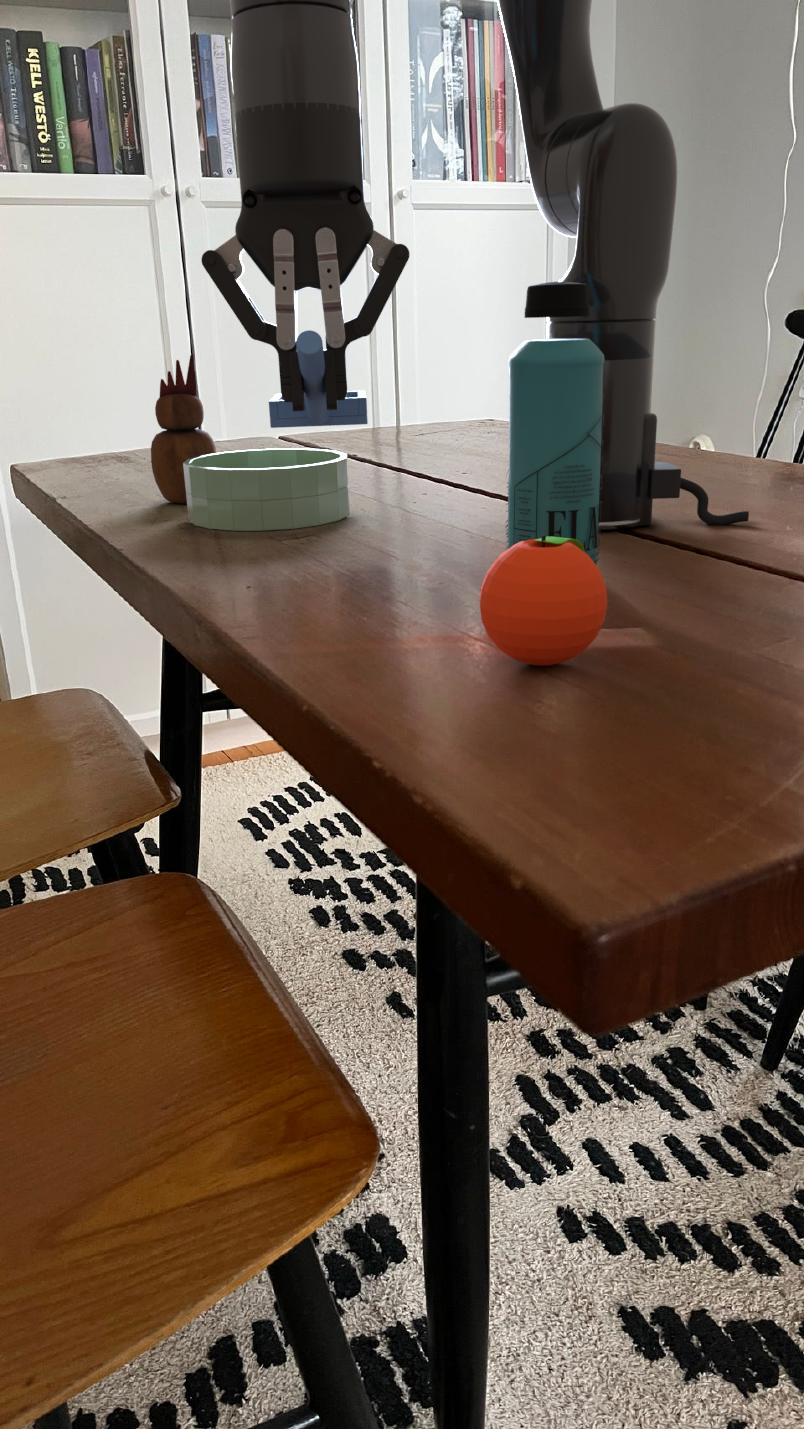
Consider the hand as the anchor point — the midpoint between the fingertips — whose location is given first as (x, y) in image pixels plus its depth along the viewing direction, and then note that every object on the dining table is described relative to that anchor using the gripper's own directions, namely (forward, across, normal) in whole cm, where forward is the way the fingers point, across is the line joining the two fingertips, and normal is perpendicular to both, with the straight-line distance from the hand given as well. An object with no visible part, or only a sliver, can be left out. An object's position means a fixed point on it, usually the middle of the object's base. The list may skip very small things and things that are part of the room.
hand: (316, 408), depth 69 cm
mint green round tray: (+13, -6, +30) cm, 33 cm away
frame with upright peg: (+2, 0, +4) cm, 4 cm away
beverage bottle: (+13, +16, 0) cm, 20 cm away
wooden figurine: (+13, -16, +44) cm, 49 cm away
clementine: (+13, +13, -16) cm, 24 cm away
